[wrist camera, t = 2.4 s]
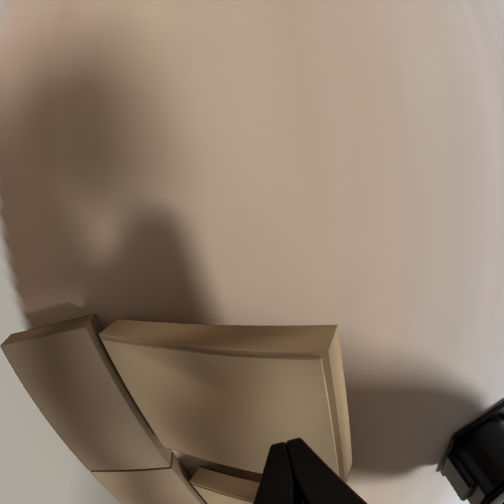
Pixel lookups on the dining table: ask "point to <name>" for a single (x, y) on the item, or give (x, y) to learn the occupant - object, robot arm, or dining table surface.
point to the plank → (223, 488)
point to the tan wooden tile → (97, 412)
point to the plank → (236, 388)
